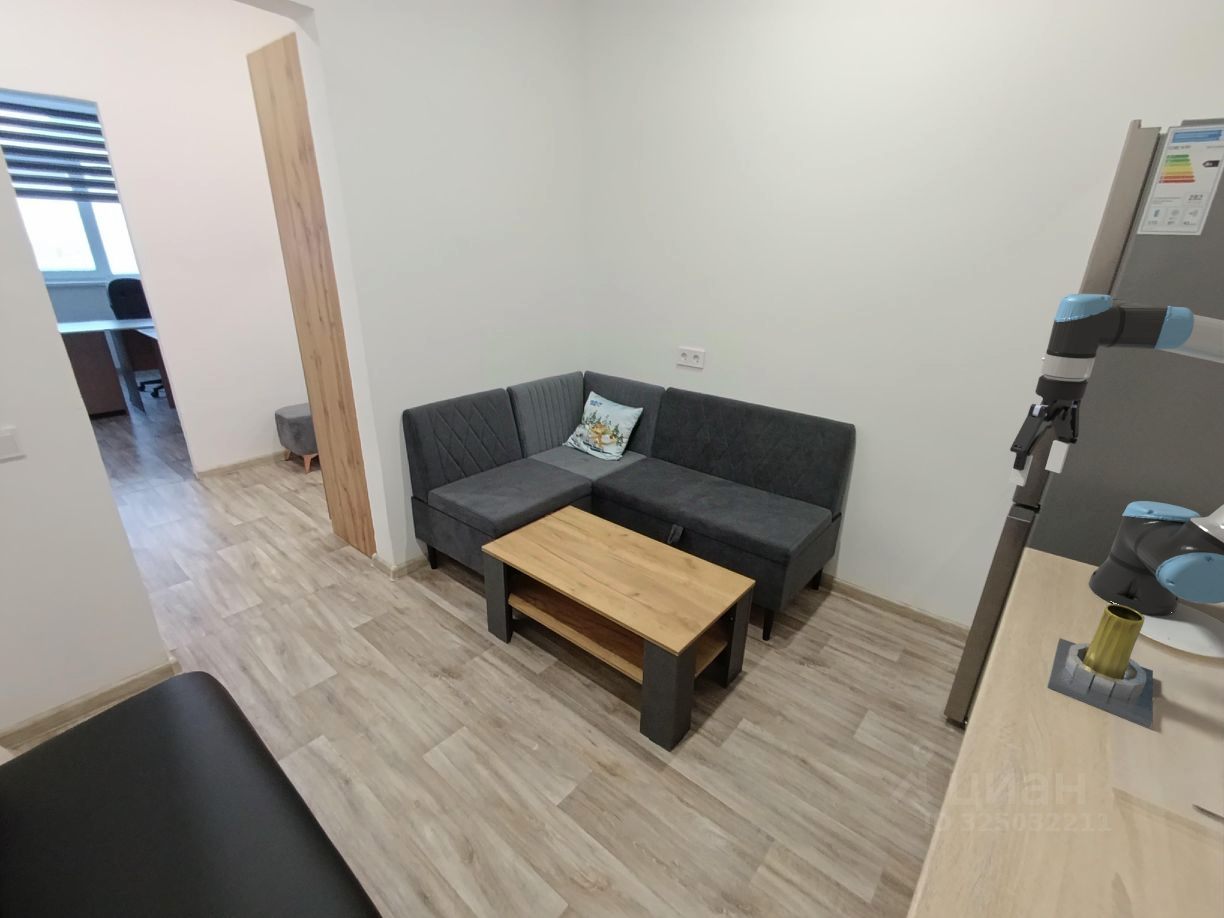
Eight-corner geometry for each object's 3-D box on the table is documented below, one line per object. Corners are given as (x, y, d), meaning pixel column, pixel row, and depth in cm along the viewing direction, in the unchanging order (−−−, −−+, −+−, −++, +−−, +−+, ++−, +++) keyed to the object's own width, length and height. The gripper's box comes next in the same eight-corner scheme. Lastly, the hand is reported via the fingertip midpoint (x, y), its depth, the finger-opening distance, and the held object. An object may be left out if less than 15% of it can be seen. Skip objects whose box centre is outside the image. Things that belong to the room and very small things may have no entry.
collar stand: (1057, 643, 112) (1063, 625, 111) (1150, 676, 104) (1158, 658, 102) (1047, 687, 102) (1053, 668, 100) (1149, 728, 93) (1158, 708, 91)
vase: (1130, 689, 99) (1157, 625, 94) (1092, 685, 100) (1117, 621, 95) (1107, 665, 104) (1132, 603, 99) (1072, 662, 105) (1094, 600, 100)
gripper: (1075, 366, 114) (1047, 460, 122) (1005, 380, 104) (980, 482, 112) (1119, 373, 108) (1087, 471, 116) (1050, 389, 98) (1020, 496, 105)
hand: (1035, 477), depth 114 cm, fingers open, 13 cm apart
